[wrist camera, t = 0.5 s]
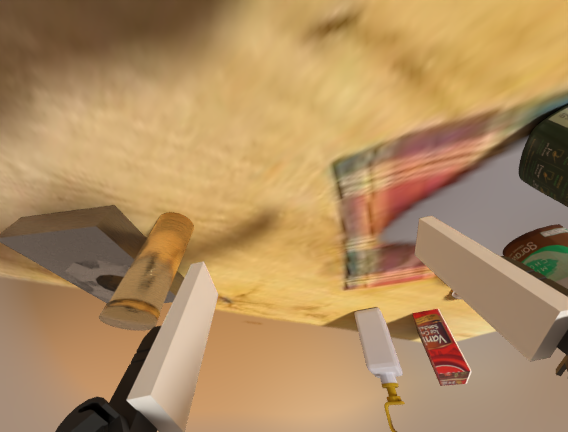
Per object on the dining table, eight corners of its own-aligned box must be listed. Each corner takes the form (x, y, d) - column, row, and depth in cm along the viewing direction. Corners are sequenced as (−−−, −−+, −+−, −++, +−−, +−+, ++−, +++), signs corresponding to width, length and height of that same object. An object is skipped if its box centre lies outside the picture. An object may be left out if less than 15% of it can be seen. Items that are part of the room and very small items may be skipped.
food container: (521, 221, 32) (590, 282, 25) (566, 217, 31) (651, 278, 24) (480, 265, 41) (523, 320, 33) (515, 263, 40) (566, 318, 33)
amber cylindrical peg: (150, 214, 30) (86, 314, 20) (184, 210, 30) (135, 310, 20) (169, 237, 34) (122, 331, 24) (200, 233, 33) (165, 328, 23)
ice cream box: (440, 330, 67) (466, 383, 57) (418, 333, 69) (440, 385, 60) (438, 308, 55) (471, 371, 45) (412, 313, 57) (438, 373, 47)
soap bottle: (385, 321, 61) (425, 439, 44) (362, 325, 63) (391, 439, 46) (378, 306, 53) (423, 441, 36) (352, 310, 55) (383, 441, 39)
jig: (21, 217, 31) (-6, 238, 28) (114, 205, 29) (96, 226, 26) (123, 288, 46) (113, 306, 43) (188, 282, 44) (182, 301, 41)
